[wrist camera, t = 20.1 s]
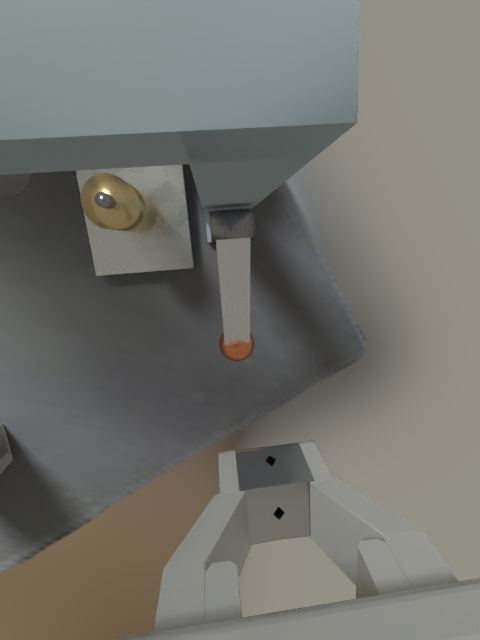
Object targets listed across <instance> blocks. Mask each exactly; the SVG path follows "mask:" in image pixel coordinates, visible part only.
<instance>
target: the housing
mask: <svg viewBox="0 0 480 640" xmlns="http://www.w3.org/2000/svg"><path fill="white" fill-rule="evenodd" d="M81 205H82V208H83V211H84V213H85V215H86V216H87V217H88V219H89V220H90V221H91V222H92V223H94V224H95V225H97V226H99V227H101V228H104V229H109V230H117V231H126V232H134V233H141V232H145V231H147V230H148V229H150V228H151V227H152V225H153V224H154V222H155V219H156V210H155V207H154V204H153V203H152V201H151V200H150V199H149V198H148V197H147V196H146V195H144V194H143V193H141V192H140V191H139V190H137V189H136V188H134V187H133V186H131V185H130V184H129V183H127V182H126V181H124V180H123V179H121V178H120V177H118V176H116V175H113V174H109V173H101V174H97V175H94V176H92V177H91V178H90V179H88V180H87V182H86V183H85V184H84V186H83V188H82V191H81Z"/></svg>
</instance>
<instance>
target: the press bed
mask: <svg viewBox="0 0 480 640" xmlns="http://www.w3.org/2000/svg"><path fill="white" fill-rule="evenodd" d="M101 173H109V174H113V175H116V176H118V177H120V178H121V179H123V180H124V181H126V182H127V183H129V184H130V185H131V186H133V187H134V188H136V189H137V190H139V191H140V192H141V193H143V194H144V195H146V196H147V197H148V198H149V199H150V200H151V201H152V203H153V204H154V207H155V210H156V219H155V222H154V224H153V225H152V227H151V228H150V229H148V230H147V231H145V232H141V233H134V232H126V231H117V230H109V229H104V228H101V227H99V226H97V225H95V224H94V223H92V222H91V221H90V220H89V219H88V217H87V216H86V215H85V213H84V216H85V221H86V226H87V231H88V236H89V241H90V247H91V252H92V257H93V262H94V267H95V272H96V276H101V275H113V274H126V273H138V272H150V271H163V270H175V269H188V268H194V259H193V250H192V241H191V232H190V223H189V214H188V205H187V196H186V187H185V178H184V169H183V165H167V166H149V167H132V168H114V169H97V170H79V171H76V175H77V180H78V186H79V191H80V196H81V191H82V188H83V186H84V184H85V183H86V182H87V180H88V179H90V178H91V177H92V176H94V175H97V174H101Z"/></svg>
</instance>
